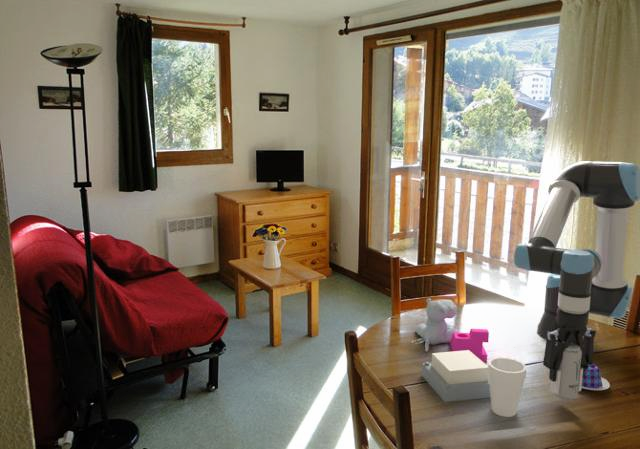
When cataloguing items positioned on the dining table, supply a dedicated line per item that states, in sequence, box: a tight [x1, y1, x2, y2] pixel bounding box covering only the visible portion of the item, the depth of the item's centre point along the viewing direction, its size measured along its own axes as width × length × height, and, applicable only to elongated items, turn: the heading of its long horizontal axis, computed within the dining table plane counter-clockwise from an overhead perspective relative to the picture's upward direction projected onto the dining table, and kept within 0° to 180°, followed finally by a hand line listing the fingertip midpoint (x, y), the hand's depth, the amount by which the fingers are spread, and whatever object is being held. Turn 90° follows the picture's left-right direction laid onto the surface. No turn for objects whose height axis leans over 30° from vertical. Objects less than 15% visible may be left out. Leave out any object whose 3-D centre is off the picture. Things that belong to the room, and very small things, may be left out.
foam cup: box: [487, 356, 527, 418], centre depth 137 cm, size 10×9×13 cm
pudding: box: [581, 363, 611, 391], centre depth 154 cm, size 12×12×5 cm
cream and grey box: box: [421, 350, 491, 403], centre depth 151 cm, size 16×16×8 cm
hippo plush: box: [410, 297, 461, 352], centre depth 183 cm, size 15×19×15 cm
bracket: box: [449, 328, 490, 363], centre depth 173 cm, size 12×10×10 cm
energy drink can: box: [554, 342, 582, 401], centre depth 139 cm, size 6×6×15 cm
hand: (565, 389), depth 140 cm, fingers closed on energy drink can, 6 cm apart
